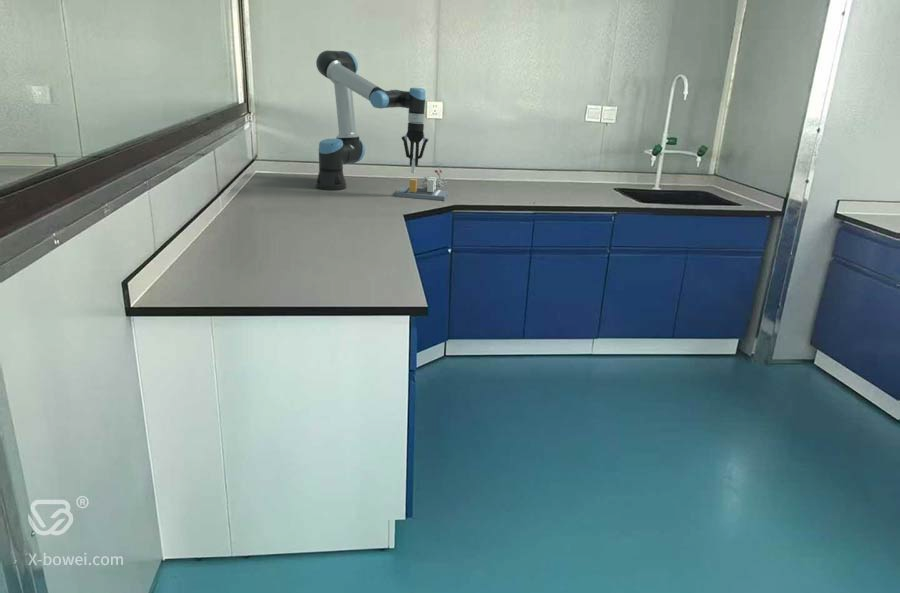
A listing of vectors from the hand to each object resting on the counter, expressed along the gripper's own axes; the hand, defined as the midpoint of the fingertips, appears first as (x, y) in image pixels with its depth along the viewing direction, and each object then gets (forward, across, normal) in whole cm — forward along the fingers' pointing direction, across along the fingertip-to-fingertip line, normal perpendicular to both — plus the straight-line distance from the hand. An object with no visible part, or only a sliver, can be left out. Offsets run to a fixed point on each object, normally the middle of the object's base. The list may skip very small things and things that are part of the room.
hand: (413, 172), depth 305 cm
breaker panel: (+12, +4, +4) cm, 13 cm away
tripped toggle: (+9, 0, 0) cm, 9 cm away
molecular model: (+12, +9, +22) cm, 27 cm away
